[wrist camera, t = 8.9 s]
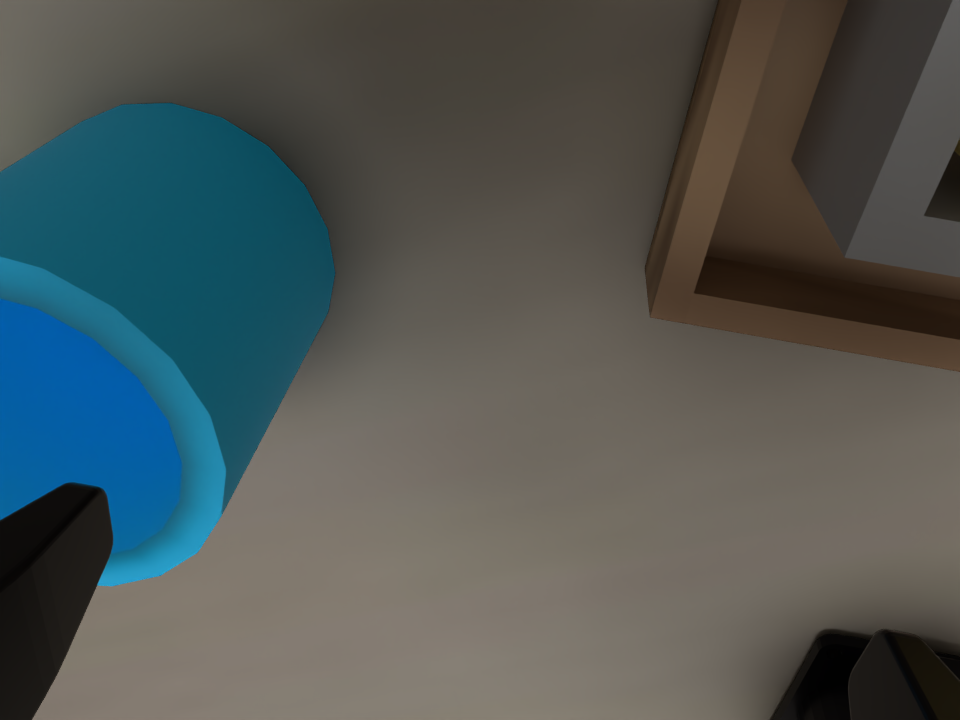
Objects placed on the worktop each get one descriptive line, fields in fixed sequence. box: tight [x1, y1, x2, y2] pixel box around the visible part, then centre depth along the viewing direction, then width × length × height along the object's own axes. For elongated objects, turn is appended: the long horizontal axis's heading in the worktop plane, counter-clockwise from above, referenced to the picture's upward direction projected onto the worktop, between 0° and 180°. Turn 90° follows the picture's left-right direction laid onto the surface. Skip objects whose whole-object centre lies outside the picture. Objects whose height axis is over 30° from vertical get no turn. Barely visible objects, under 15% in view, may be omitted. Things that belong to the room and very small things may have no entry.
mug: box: [0, 103, 335, 586], centre depth 20 cm, size 12×8×8 cm
